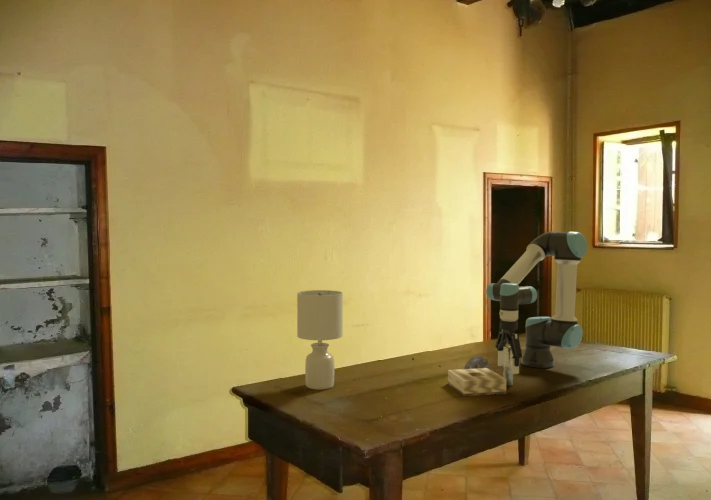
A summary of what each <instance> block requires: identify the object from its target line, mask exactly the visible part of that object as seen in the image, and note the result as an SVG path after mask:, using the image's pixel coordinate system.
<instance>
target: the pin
mask: <svg viewBox="0 0 711 500" xmlns="http://www.w3.org/2000/svg"><path fill="white" fill-rule="evenodd" d="M502 351H503V366H502V368H503V369H502V371H503V372H502V377H504V378H505V379H506V386H513V384H514V383H513V382H514V374H512V357H513V354H512V351H511V348H510V345H505V346H504V350H502Z"/></svg>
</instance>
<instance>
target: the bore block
mask: <svg viewBox="0 0 711 500" xmlns="http://www.w3.org/2000/svg"><path fill="white" fill-rule="evenodd" d="M447 385H448V386H450V387H451V388H452V389H453V390H455V391H456V392H457V393H459V394H460V395H461V396H462V397H473V396H474V397H475V396H492V395H494V394H496V395H506V394H507V385H506V379H505V378H504V377H503V375H500V374H499V373H497V372H495V371H494V370H492V369H488V368H478V369H465V368H462V369H461V368H460V369H457V368H456V369H447ZM491 394H492V395H491Z"/></svg>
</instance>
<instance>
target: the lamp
mask: <svg viewBox="0 0 711 500" xmlns="http://www.w3.org/2000/svg"><path fill="white" fill-rule="evenodd" d="M343 293H344V292H342V291H339V290H330V289H329V290H328V289H323V290H322V289H316V290H315V289H312V290H303V291H298V292H297V295H296V296H297V297H296V298H297V299H296V300H297V303H296V304H297V305H296V306H297V307H296V308H297V314H296V315H297V317H296V319H297V320H296V321H297V324H296V325H297V326H296V327H297V328H296V329H297V333H296V335H297V336H296V337H297V338H298V339H301V340H307V341H317V342H313V343H311V344H310V346H311V348H312V351H311V352H310V353H308V354H307V355H306V357H305V365H304V368H305V369H304V371H305V378H304V379H305V386H306V388H308V389H309V390H315V391H320V390H321V391H322V390H329V389H332V388H333V387H334V386H335V358H334V355H333V354H331V353H330V352H329V351H328V347H329V346H330V345H329V343H327V342H323V341H331V340H332V341H333V340H337V339H340V338H342V337H343V307H344V306H343V299H344V297H343V296H344V295H343Z"/></svg>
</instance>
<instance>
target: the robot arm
mask: <svg viewBox="0 0 711 500" xmlns="http://www.w3.org/2000/svg"><path fill="white" fill-rule="evenodd" d="M525 250H526V251H524V253H523V254H522V255H521V256H520V257H519V258H518V260H516V261H515V263H514V264H513V265H511V267H510V268H509V270H507V271H506V272H505V274H504V275H503V276H502V277H501V278H500V279H499V280H498V281H497V283H495V282H494V283H490V284H488V285H487V287H486V289H485V291H486V292H485V293H486V296H487V298H488V299H489V300H491V301H496V302H499V313H498V314H499V319H500V320H499V329H498V335H497V339H496V342H495V349H497V366H498V367H503V351H504V346H507V344H508V346H510V348H511V351H512V354H513V357H512V374H513V375H518V374H520V363H521V365H523V366H525V367H530V368H538V369H539V368H540V369H545V368H546V369H548V368H553V367H554V365H555V360H554V357H553V353H552V350H551V347H557V348H562V349H563V350H565V349H568V350H574V349H575V348H578V346H579V345H580V343H581V341H582V338H583V333H584V332H583V328H582V326H581V325H580V324H578V319H577V317H576V316H575V314H576V312H575V310H576V298H577V297H576V296H577V294H576V292H577V274H578V265H579V264H580V263H581V262H582V258H584V257H585V256H586V253H587V252H588V243H587V240H586V237H585V236H584V235H583V233H581V232H579V231H555V230H554V231H547V232H544V233H542V234H540V235H538V236H537V237H536V238H534V239H533V240H532V241H531V242H530V243H528V245H527V246H526V249H525ZM551 256H552V257H554V259H553V261H555V262H556V263H557V268H556V269H557V271H556V287H555V288H556V289H555V303H554V305H555V306H554V307H555V308H554V310H555V311H554V315H552V317H551V316H533V317H532V316H531V317H528V318H527V319H526V320H525V343H524V344H525V346H524V351H523V352H522V348H521V343H520V334H519V333H516V331H517V330H518V329H519V321H518V320H519V305H530V304H533V303H535V302H536V300H537V298H538V292H537V290H536V288H534V287H533V286H530V285H529V286H528V285H526V286H525V285H524V286H520V285H519V284H521V282H522V281H523V280H524V279H525V277H527V276H528V274H529V273H531V271H532V270H533V269H534V268H535V266H536V265H537V264H538V263H539V262H541V261H543V260H544V259H545V258H546V257H551ZM520 359H521V361H520Z"/></svg>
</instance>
